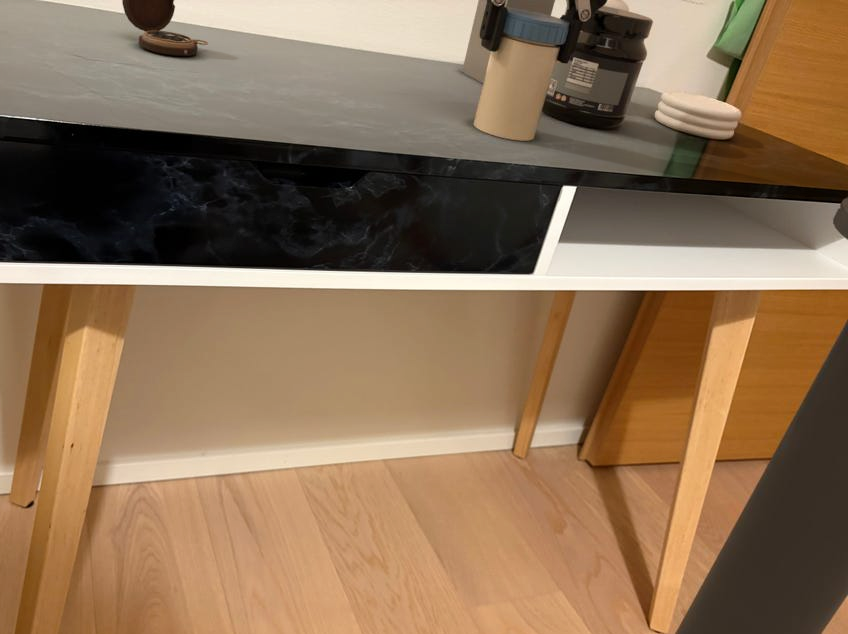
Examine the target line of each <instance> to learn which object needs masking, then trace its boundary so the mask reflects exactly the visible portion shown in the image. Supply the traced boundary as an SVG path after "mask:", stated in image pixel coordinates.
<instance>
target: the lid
mask: <svg viewBox="0 0 848 634" xmlns="http://www.w3.org/2000/svg"><path fill="white" fill-rule="evenodd" d="M506 8H507V9H508V13H507V17H506V21H505V25H504V29H503V33H504V34H507V35H510V36H514V37H517V38H521V39H525V40H530V41H534V42H540V43H545V44H553V45H562V44H564V43H565V41H566V37H567V34H568V30H569V29H568V27H569V24H570V23H569V22H567V21H565V20H563V19H560V17H556V16H553V15H551V16H550V15H546V14H542V13H538V12H533V11H528V10H523V9H518V8H511V7H506Z"/></svg>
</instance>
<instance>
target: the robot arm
mask: <svg viewBox="0 0 848 634" xmlns="http://www.w3.org/2000/svg"><path fill="white" fill-rule="evenodd" d="M486 1H487V4H486V8H485V12H484V16H483V20H482V24H481V29H480V38H481V39H482V41H481V46H483V47H484V48H486V49H487V50H489V51H492V52H496V51H498V48H499V45H500V41H501V37H502V33H503V29H504V25H505V21H506V17H507V13H508V9H507V8H506V7H504V6H505V2H506V0H486ZM565 2H566V7H567V13H566V15H564V14H562V15H561V16H560V17H559V18H560V19H563V20H565V21H567V22H569V23H570V24H569V27H568V29H569V30H568V34H567V37H566V41H565V43H564V44H562V45H559V46H560V50H559V53H558V57H557V61H559V62H561V63H565V64H567V63H568V62H569V59H570V55H571V54H573V53H574V51H575V48H576V45H577V41H578V38H579V34H580V31H581V28H582V24H583V22H584V21H587V20H588V19H589V18H590V16H591V15H592V14H593V13H594V12H596V11H597V10H598V9H600V8H601V7H602V6H604V5H605V4H606V2H607V0H565Z"/></svg>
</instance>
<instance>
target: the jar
mask: <svg viewBox="0 0 848 634" xmlns="http://www.w3.org/2000/svg"><path fill="white" fill-rule="evenodd" d="M559 50H560V46H559V45H553V44H545V43H540V42H534V41H530V40H525V39H521V38H517V37H514V36H510V35H507V34H504V33H502V37H501V41H500V45H499V48H498V51H496V52H492V51H491V54H490V58H489V62H488V66H487V70H486V75H485V79H484V83H482V87H481V91H480V95H479V99H478V103H477V107H476V111H475V115H474V119H473V126H474V128H476V129H477V130H479V131H481V132H483V133H485V134H488V135H490V136H494V137H498V138H501V139H506V140H511V141H519V142H524V141H525V142H527V141H533V140H534V139H535V136H536V133H537V129H538V126H539V123H540V119H541V115H542V112H543V110H542V109H543V105H544V102H545V99H546V95H547V92H548V88H549V85H550V81H551V78H552V74H553V71H554V67H555V64H556V60H557V57H558V53H559Z"/></svg>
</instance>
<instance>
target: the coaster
mask: <svg viewBox="0 0 848 634" xmlns="http://www.w3.org/2000/svg"><path fill="white" fill-rule="evenodd" d="M654 118H655V120H656V122H659V123H660V124H662V125H664V126H665V127H668V128H670V129H673V130H675V131H677V132H678V131H679V132H682V133H685V134H689V135H692V136H695V137H700V138H704V139H712V140H722V141H724V140H729V139H731V138H733V136H734V134H735V129H736V128H737V127H738V124H739V123H738V122H739V120H740V119H741V118H742V112H741V110H740V109H739V108H738V107H735V106H734V105H731V104H730V103H727V102H724V101H721V100H718V99H715V98H711V97H709V96H705V95H701V94H697V93H691V92H687V91H680V90H667V91H664V92H663V93H662V94H661V95H660V101H659V103H658V104H657V109H656V111H655V112H654Z"/></svg>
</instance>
